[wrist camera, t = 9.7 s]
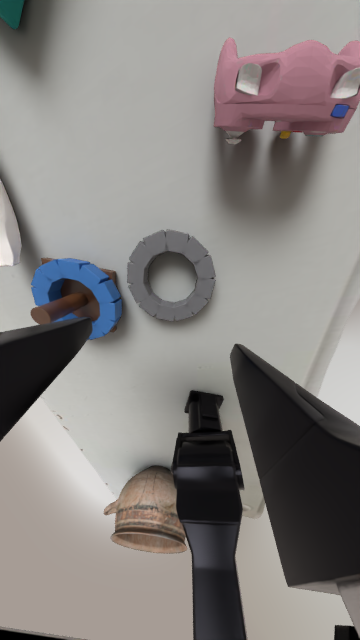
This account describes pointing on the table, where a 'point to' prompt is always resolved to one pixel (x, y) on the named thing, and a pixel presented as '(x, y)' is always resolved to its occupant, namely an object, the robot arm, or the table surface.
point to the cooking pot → (148, 513)
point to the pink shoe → (287, 89)
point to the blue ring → (88, 274)
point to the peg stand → (71, 301)
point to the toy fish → (8, 232)
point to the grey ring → (145, 257)
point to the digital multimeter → (11, 12)
